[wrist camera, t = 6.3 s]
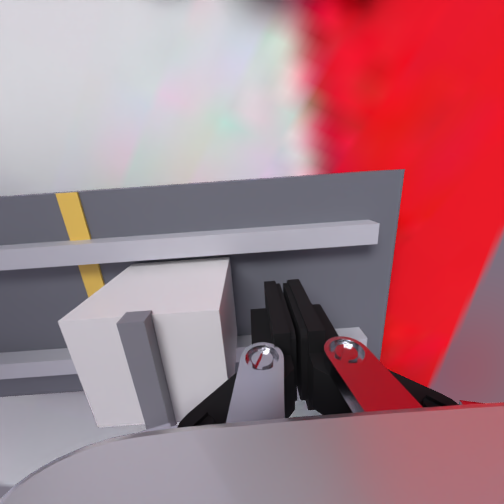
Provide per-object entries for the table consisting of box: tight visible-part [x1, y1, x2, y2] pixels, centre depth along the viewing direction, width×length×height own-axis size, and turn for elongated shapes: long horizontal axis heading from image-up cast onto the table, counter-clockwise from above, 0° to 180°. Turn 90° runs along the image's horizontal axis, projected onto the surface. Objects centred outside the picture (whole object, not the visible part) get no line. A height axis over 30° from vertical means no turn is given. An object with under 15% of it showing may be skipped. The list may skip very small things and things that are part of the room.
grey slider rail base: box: [0, 169, 405, 397], centre depth 14 cm, size 12×26×4 cm, turn 94°
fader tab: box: [58, 257, 237, 430], centre depth 10 cm, size 5×5×6 cm
